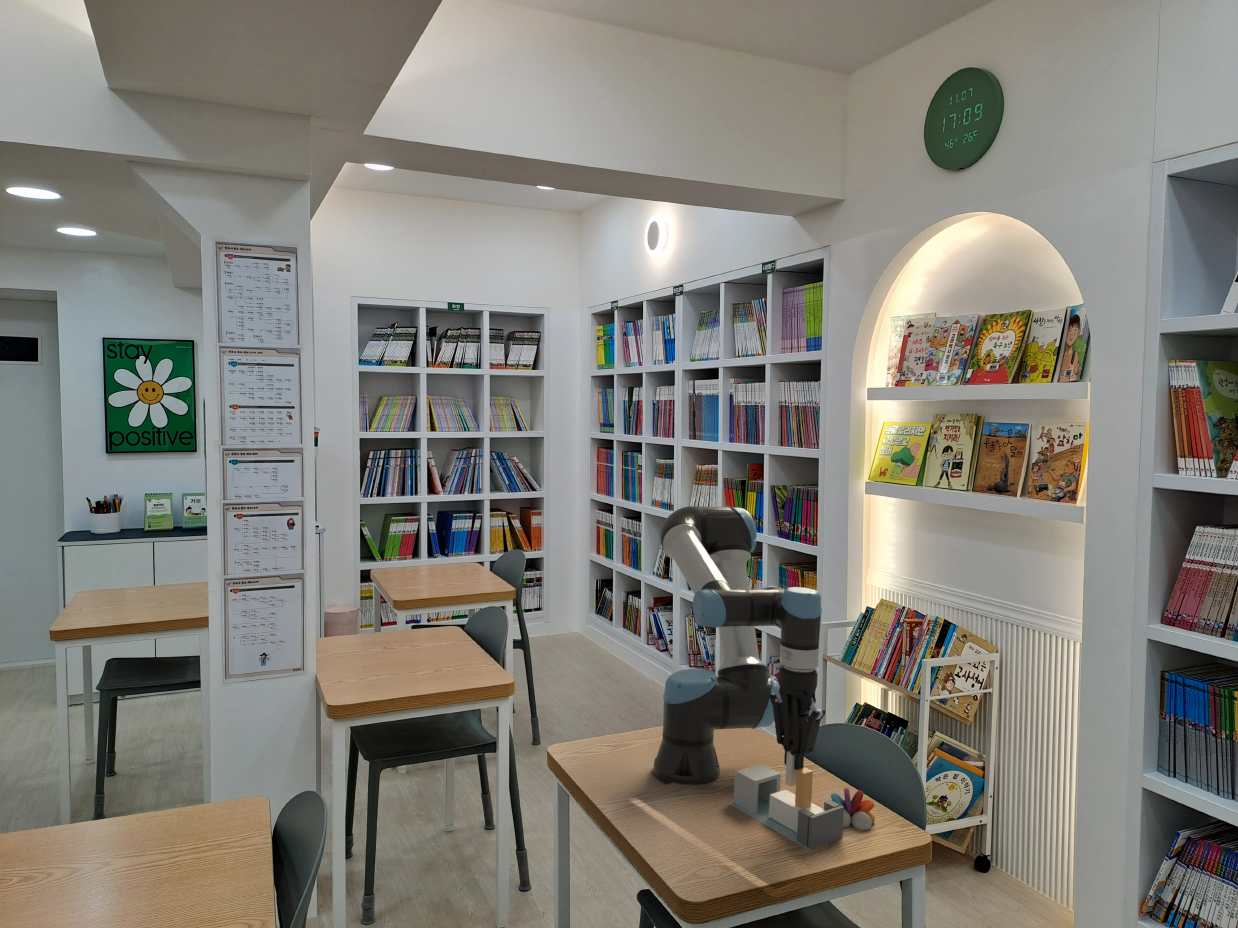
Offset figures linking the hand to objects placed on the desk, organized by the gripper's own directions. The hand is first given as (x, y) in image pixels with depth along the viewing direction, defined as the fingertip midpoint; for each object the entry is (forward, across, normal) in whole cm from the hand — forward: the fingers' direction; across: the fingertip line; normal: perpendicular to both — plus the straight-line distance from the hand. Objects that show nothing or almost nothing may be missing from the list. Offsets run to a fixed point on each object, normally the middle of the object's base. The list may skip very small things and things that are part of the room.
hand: (792, 783), depth 165 cm
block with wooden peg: (+8, +2, 0) cm, 8 cm away
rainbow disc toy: (+9, +5, +12) cm, 16 cm away
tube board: (+9, -2, 0) cm, 9 cm away
